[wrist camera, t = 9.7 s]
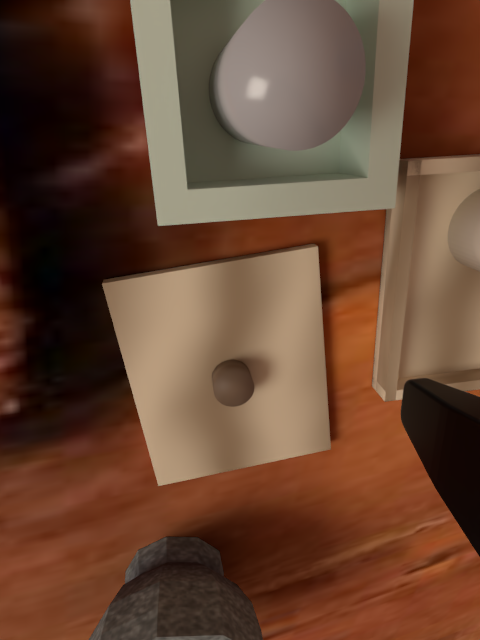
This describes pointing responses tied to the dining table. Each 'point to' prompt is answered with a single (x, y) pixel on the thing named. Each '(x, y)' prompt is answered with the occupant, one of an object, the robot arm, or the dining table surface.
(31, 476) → the dining table surface
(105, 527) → the dining table surface
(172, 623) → the mortar and pestle
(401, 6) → the sage bin
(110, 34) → the dining table surface
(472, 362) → the birch tray
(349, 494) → the dining table surface
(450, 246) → the pale pebble
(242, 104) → the grey rounded piece
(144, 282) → the tray lid
